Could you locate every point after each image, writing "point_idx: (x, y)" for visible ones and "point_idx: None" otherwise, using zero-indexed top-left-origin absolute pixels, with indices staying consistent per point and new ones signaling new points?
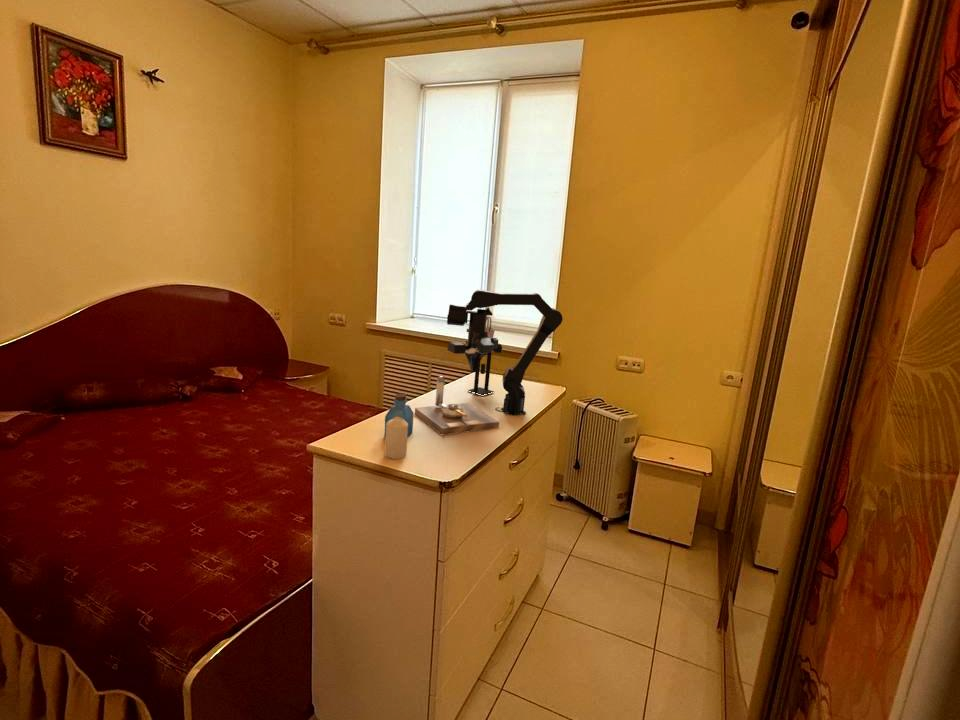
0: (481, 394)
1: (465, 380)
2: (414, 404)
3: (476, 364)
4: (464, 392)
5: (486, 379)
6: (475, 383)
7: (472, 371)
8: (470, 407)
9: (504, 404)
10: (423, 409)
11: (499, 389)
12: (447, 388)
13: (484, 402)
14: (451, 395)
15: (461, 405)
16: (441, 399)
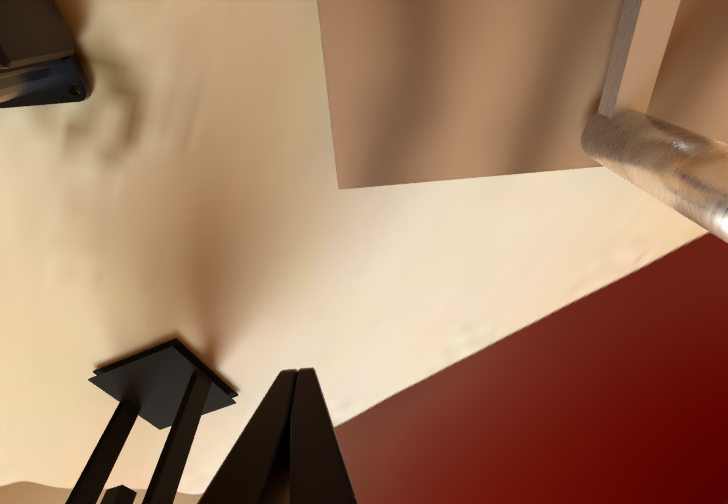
0: (176, 350)
1: (201, 492)
2: (587, 278)
3: (255, 483)
4: (255, 390)
5: (107, 458)
6: (191, 422)
7: (317, 380)
8: (369, 82)
9: (36, 39)
10: (719, 108)
11: (52, 412)
12: None
13: (188, 256)
14: (337, 363)
15: (414, 142)
16: (648, 120)
